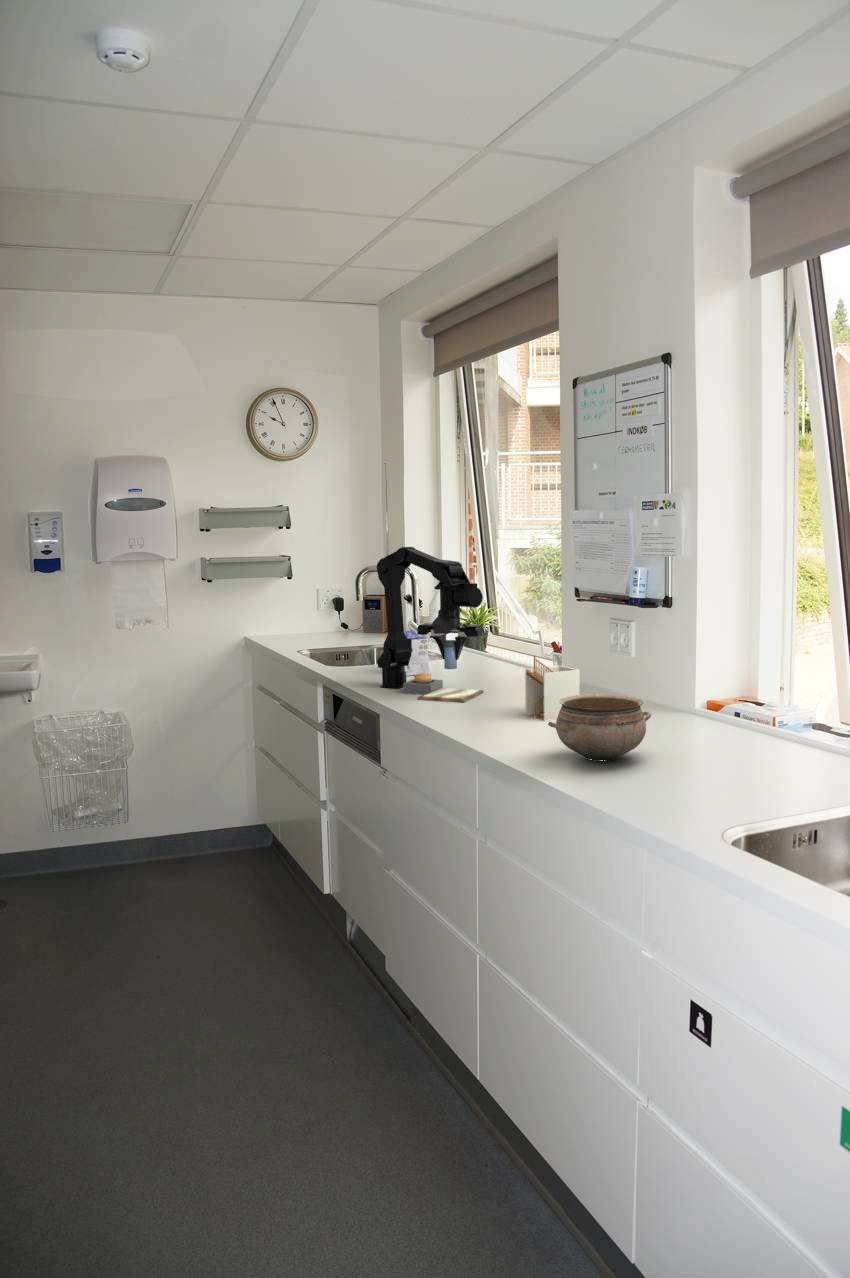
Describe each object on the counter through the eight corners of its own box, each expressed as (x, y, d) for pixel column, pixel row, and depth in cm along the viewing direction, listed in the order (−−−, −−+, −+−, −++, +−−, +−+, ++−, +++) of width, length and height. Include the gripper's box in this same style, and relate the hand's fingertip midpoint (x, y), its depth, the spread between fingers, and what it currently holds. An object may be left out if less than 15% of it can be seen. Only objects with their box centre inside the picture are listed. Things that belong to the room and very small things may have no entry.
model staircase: (524, 716, 257) (524, 653, 255) (559, 712, 262) (559, 650, 260) (543, 722, 249) (543, 657, 247) (579, 717, 254) (579, 654, 252)
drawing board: (418, 699, 281) (418, 696, 281) (439, 690, 295) (439, 687, 295) (464, 702, 275) (464, 699, 275) (483, 692, 290) (483, 689, 290)
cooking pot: (573, 774, 197) (573, 714, 195) (527, 754, 214) (527, 699, 213) (676, 761, 206) (677, 703, 205) (624, 742, 224) (625, 689, 222)
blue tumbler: (442, 668, 283) (441, 641, 282) (446, 666, 287) (446, 639, 286) (454, 669, 282) (454, 641, 281) (459, 667, 285) (458, 640, 284)
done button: (412, 682, 293) (411, 675, 292) (418, 679, 297) (418, 673, 297) (427, 683, 291) (427, 676, 290) (433, 680, 295) (433, 674, 295)
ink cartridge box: (423, 672, 332) (422, 629, 330) (430, 674, 327) (429, 631, 325) (396, 674, 327) (395, 631, 326) (402, 676, 322) (401, 632, 321)
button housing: (403, 693, 292) (403, 683, 292) (415, 688, 300) (415, 678, 300) (431, 694, 288) (431, 684, 288) (442, 689, 297) (442, 679, 296)
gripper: (408, 607, 278) (409, 662, 280) (470, 609, 271) (471, 665, 273) (424, 604, 289) (425, 656, 291) (484, 605, 281) (484, 659, 283)
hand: (450, 659), depth 284 cm, fingers closed on blue tumbler, 4 cm apart
